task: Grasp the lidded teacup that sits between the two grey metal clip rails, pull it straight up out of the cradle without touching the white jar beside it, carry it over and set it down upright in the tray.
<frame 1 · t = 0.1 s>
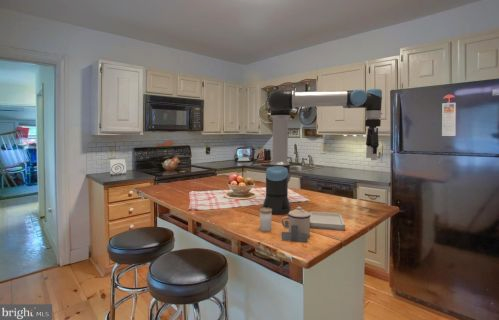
hand: (371, 158, 150), 28 cm above the countertop, tool pointing down, fingers open, 13 cm apart
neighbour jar: (265, 229, 121), on the countertop
clip cradle: (295, 234, 116), on the countertop
tray: (325, 222, 130), on the countertop
teacup with lid: (295, 234, 116), on the countertop
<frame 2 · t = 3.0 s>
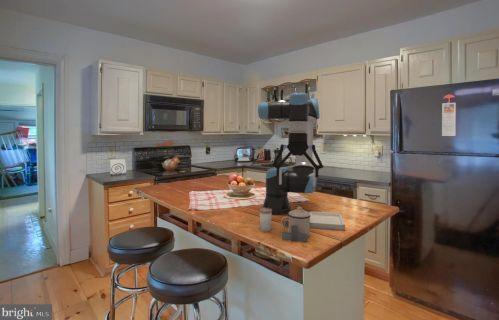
hand: (296, 184, 114), 21 cm above the countertop, tool pointing down, fingers open, 13 cm apart
nothing on the countertop moved.
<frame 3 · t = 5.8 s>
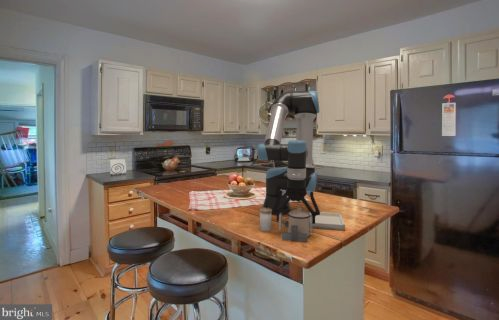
hand: (295, 229, 116), 2 cm above the countertop, tool pointing down, fingers closed on teacup with lid, 12 cm apart
teacup with lid: (295, 234, 116), on the countertop, touching gripper
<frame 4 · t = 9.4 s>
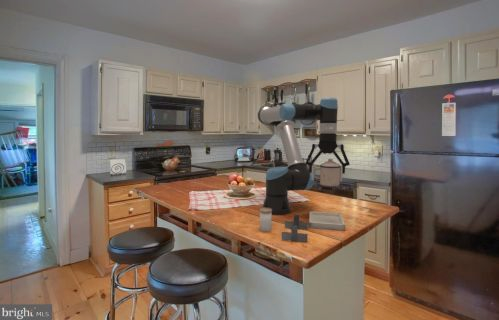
hand: (326, 180, 128), 20 cm above the countertop, tool pointing down, fingers closed on teacup with lid, 12 cm apart
teacup with lid: (326, 184, 128), point 18 cm above the countertop, touching gripper
when the fingers open (4 cm above the countertop, at t = 13.0 s): teacup with lid drops 1 cm, resting on tray.
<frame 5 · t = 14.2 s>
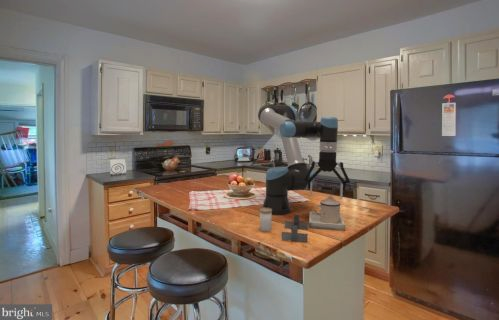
hand: (325, 196, 130), 12 cm above the countertop, tool pointing down, fingers open, 13 cm apart
teacup with lid: (326, 221, 130), point 1 cm above the countertop, touching tray
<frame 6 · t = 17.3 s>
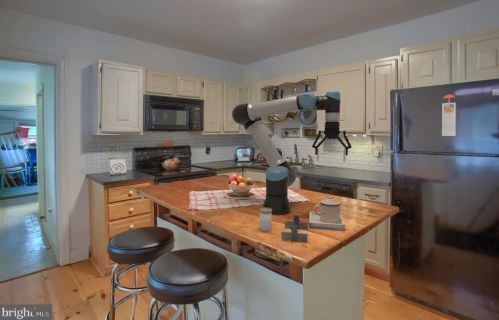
hand: (330, 161, 149), 27 cm above the countertop, tool pointing down, fingers open, 13 cm apart
nothing on the countertop moved.
at the end: teacup with lid inside the target area on the tray (0.3 cm from its centre), point 0.8 cm above the tray's base; teacup with lid tilted 0°; the gripper is holding nothing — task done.
